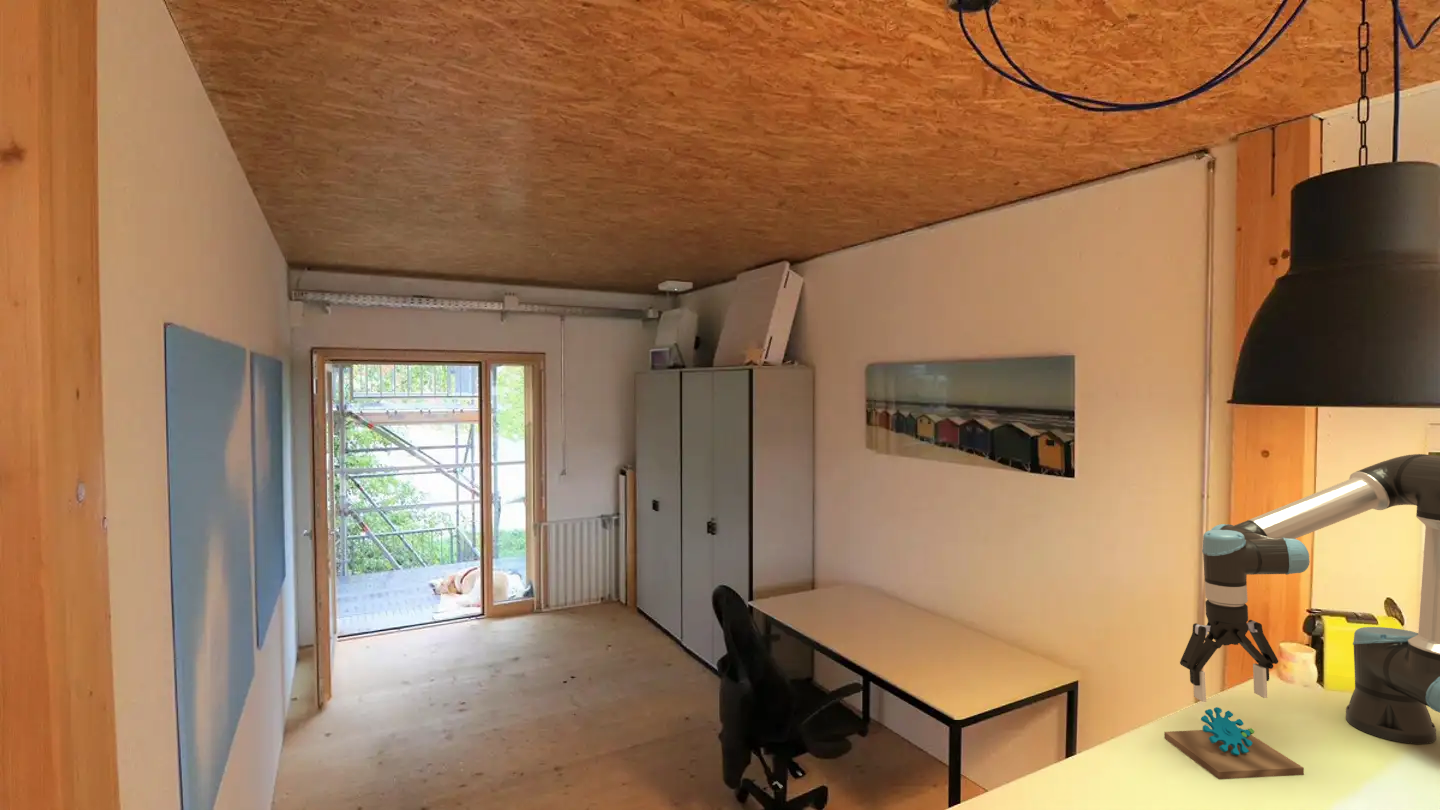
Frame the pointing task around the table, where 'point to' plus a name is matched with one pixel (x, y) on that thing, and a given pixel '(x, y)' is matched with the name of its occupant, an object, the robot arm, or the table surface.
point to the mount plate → (1233, 756)
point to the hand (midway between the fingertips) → (1230, 697)
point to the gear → (1227, 731)
